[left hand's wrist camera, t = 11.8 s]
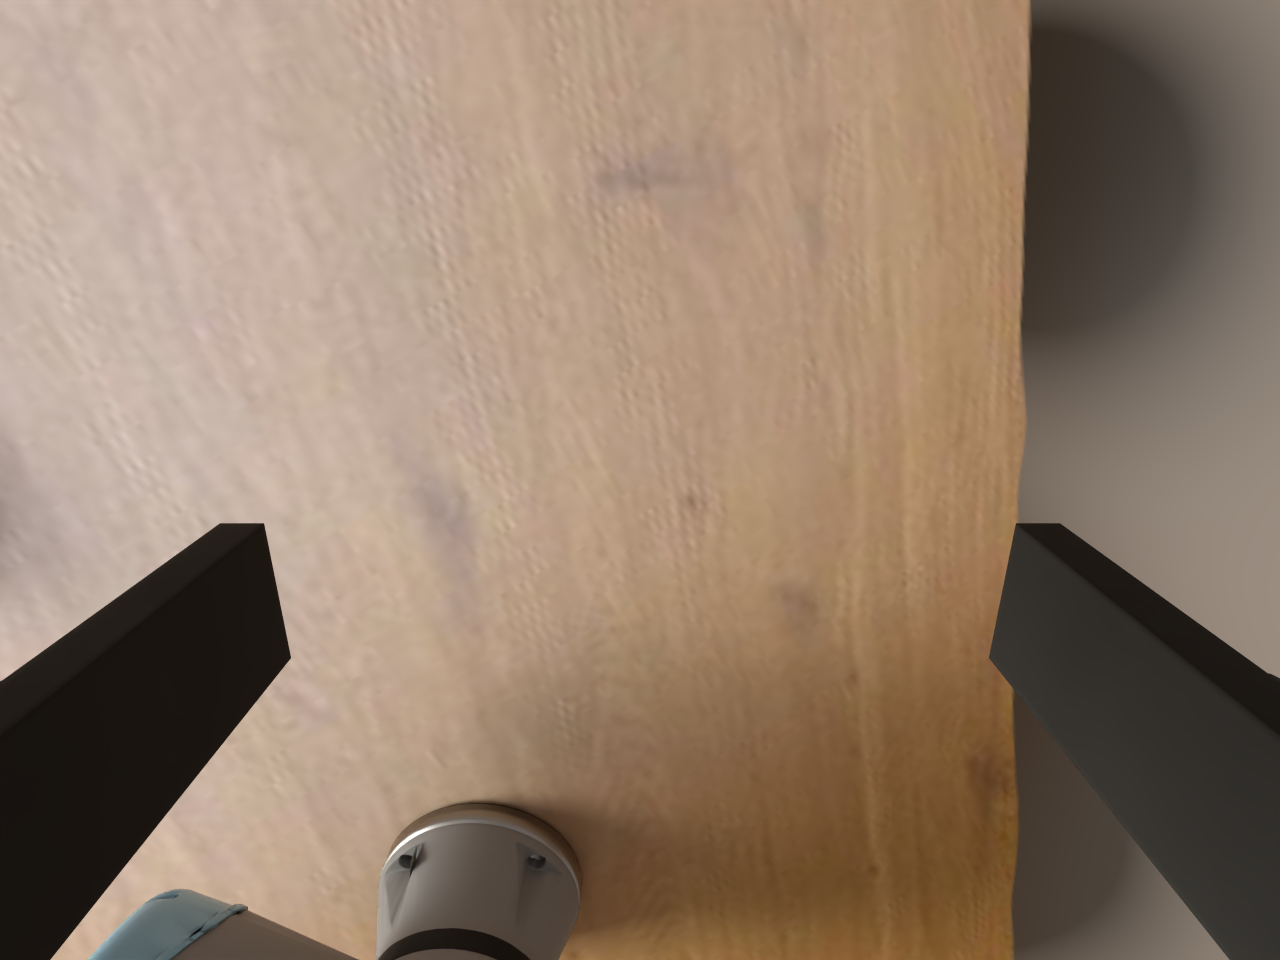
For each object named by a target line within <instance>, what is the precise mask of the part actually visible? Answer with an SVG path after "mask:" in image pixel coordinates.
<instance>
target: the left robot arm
mask: <svg viewBox="0 0 1280 960" xmlns="http://www.w3.org/2000/svg"><path fill="white" fill-rule="evenodd" d="M290 659H291V656H290V651H289V646H288V641H287V636H286V631H285V626H284V621H283V616H282V611H281V606H280V601H279V596H278V591H277V586H276V581H275V576H274V571H273V566H272V561H271V556H270V551H269V546H268V541H267V536H266V531H265V526H264V523H220V524H219V525H217V526H216V527H214V528H213V529H212V530H210V531H209V532H208V533H206V534H205V535H203V536H202V537H201V538H199V539H198V540H196V541H195V542H194V543H192V544H191V545H190V546H188V547H187V548H185V549H184V550H183V551H181V552H180V553H178V554H177V555H176V556H174V557H173V558H171V559H170V560H169V561H167V562H166V563H165V564H163V565H162V566H160V567H159V568H158V569H156V570H155V571H153V572H152V573H151V574H149V575H148V576H147V577H145V578H144V579H142V580H141V581H140V582H138V583H137V584H135V585H134V586H133V587H131V588H130V589H129V590H127V591H126V592H124V593H123V594H122V595H120V596H119V597H117V598H116V599H115V600H113V601H112V602H111V603H109V604H108V605H106V606H105V607H104V608H102V609H101V610H99V611H98V612H97V613H95V614H94V615H93V616H91V617H90V618H88V619H87V620H86V621H84V622H83V623H81V624H80V625H79V626H77V627H76V628H74V629H73V630H72V631H70V632H69V633H68V634H66V635H65V636H63V637H62V638H61V639H59V640H58V641H56V642H55V643H54V644H52V645H51V646H50V647H48V648H47V649H45V650H44V651H43V652H41V653H40V654H38V655H37V656H36V657H34V658H33V659H32V660H30V661H29V662H27V663H26V664H25V665H23V666H22V667H20V668H19V669H18V670H16V671H15V672H14V673H12V674H11V675H9V676H8V677H7V678H5V679H4V680H2V681H0V960H50V959H51V958H52V957H53V956H54V954H55V953H56V952H57V951H58V949H59V948H60V947H61V946H62V944H63V943H64V942H65V941H66V939H67V938H68V937H69V936H70V934H71V933H72V932H73V931H74V929H75V928H76V927H77V926H78V924H79V923H80V922H81V921H82V919H83V918H84V917H85V916H86V914H87V913H88V912H89V910H90V909H91V908H92V907H93V905H94V904H95V903H96V902H97V900H98V899H99V898H100V897H101V895H102V894H103V893H104V892H105V890H106V889H107V888H108V887H109V885H110V884H111V883H112V882H113V880H114V879H115V878H116V877H117V875H118V874H119V873H120V872H121V870H122V869H123V868H124V867H125V865H126V864H127V863H128V862H129V860H130V859H131V858H132V857H133V855H134V854H135V853H136V852H137V850H138V849H139V848H140V847H141V845H142V844H143V843H144V842H145V840H146V839H147V838H148V837H149V835H150V834H151V833H152V832H153V830H154V829H155V828H156V827H157V825H158V824H159V823H160V821H161V820H162V819H163V818H164V816H165V815H166V814H167V813H168V811H169V810H170V809H171V808H172V806H173V805H174V804H175V803H176V801H177V800H178V799H179V798H180V796H181V795H182V794H183V793H184V791H185V790H186V789H187V788H188V786H189V785H190V784H191V783H192V781H193V780H194V779H195V778H196V776H197V775H198V774H199V773H200V771H201V770H202V769H203V768H204V766H205V765H206V764H207V763H208V761H209V760H210V759H211V758H212V756H213V755H214V754H215V753H216V751H217V750H218V749H219V748H220V746H221V745H222V744H223V743H224V741H225V740H226V739H227V737H228V736H229V735H230V734H231V732H232V731H233V730H234V729H235V727H236V726H237V725H238V724H239V722H240V721H241V720H242V719H243V717H244V716H245V715H246V714H247V712H248V711H249V710H250V709H251V707H252V706H253V705H254V704H255V702H256V701H257V700H258V699H259V697H260V696H261V695H262V694H263V692H264V691H265V690H266V689H267V687H268V686H269V685H270V684H271V682H272V681H273V680H274V679H275V677H276V676H277V675H278V674H279V672H280V671H281V670H282V669H283V667H284V666H285V665H286V664H287V662H288V661H289V660H290ZM989 659H990V660H991V661H992V662H993V664H994V665H995V666H996V667H997V669H998V670H999V671H1000V672H1001V674H1002V675H1003V676H1004V677H1005V679H1006V680H1007V681H1008V682H1009V684H1010V685H1011V686H1012V687H1013V689H1014V690H1015V691H1016V692H1017V694H1018V695H1019V696H1020V697H1021V699H1022V700H1023V701H1024V702H1025V704H1026V705H1027V706H1028V707H1029V709H1030V710H1031V711H1032V712H1033V714H1034V715H1035V716H1036V717H1037V719H1038V720H1039V721H1040V722H1041V724H1042V725H1043V726H1044V727H1045V729H1046V730H1047V731H1048V732H1049V734H1050V735H1051V736H1052V737H1053V739H1054V740H1055V741H1056V743H1057V744H1058V745H1059V746H1060V748H1061V749H1062V750H1063V751H1064V753H1065V754H1066V755H1067V756H1068V758H1069V759H1070V760H1071V761H1072V763H1073V764H1074V765H1075V766H1076V768H1077V769H1078V770H1079V771H1080V773H1081V774H1082V775H1083V776H1084V778H1085V779H1086V780H1087V781H1088V783H1089V784H1090V785H1091V786H1092V788H1093V789H1094V790H1095V791H1096V793H1097V794H1098V795H1099V796H1100V798H1101V799H1102V800H1103V801H1104V803H1105V804H1106V805H1107V806H1108V808H1109V809H1110V810H1111V811H1112V813H1113V814H1114V815H1115V816H1116V818H1117V819H1118V820H1119V821H1120V823H1121V824H1122V825H1123V826H1124V828H1125V829H1126V830H1127V832H1128V833H1129V834H1130V835H1131V837H1132V838H1133V839H1134V840H1135V842H1136V843H1137V844H1138V845H1139V847H1140V848H1141V849H1142V850H1143V852H1144V853H1145V854H1146V855H1147V857H1148V858H1149V859H1150V860H1151V862H1152V863H1153V864H1154V865H1155V867H1156V868H1157V869H1158V870H1159V872H1160V873H1161V874H1162V875H1163V877H1164V878H1165V879H1166V880H1167V882H1168V883H1169V884H1170V885H1171V887H1172V888H1173V889H1174V890H1175V892H1176V893H1177V894H1178V895H1179V897H1180V898H1181V899H1182V900H1183V902H1184V903H1185V904H1186V905H1187V907H1188V908H1189V909H1190V910H1191V912H1192V913H1193V914H1194V915H1195V917H1196V918H1197V919H1198V921H1199V922H1200V923H1201V924H1202V926H1203V927H1204V928H1205V929H1206V931H1207V932H1208V933H1209V934H1210V936H1211V937H1212V938H1213V939H1214V941H1215V942H1216V943H1217V944H1218V946H1219V947H1220V948H1221V949H1222V951H1223V952H1224V953H1225V954H1226V956H1227V957H1228V958H1229V959H1230V960H1280V678H1278V677H1276V676H1274V675H1272V674H1268V673H1266V672H1265V671H1264V670H1262V669H1261V668H1260V667H1258V666H1257V665H1255V664H1254V663H1253V662H1251V661H1250V660H1248V659H1247V658H1246V657H1244V656H1243V655H1242V654H1240V653H1239V652H1237V651H1236V650H1235V649H1233V648H1232V647H1230V646H1229V645H1228V644H1226V643H1225V642H1224V641H1222V640H1221V639H1219V638H1218V637H1217V636H1215V635H1214V634H1212V633H1211V632H1210V631H1208V630H1207V629H1206V628H1204V627H1203V626H1201V625H1200V624H1199V623H1197V622H1196V621H1194V620H1193V619H1192V618H1190V617H1189V616H1187V615H1186V614H1185V613H1183V612H1182V611H1181V610H1179V609H1178V608H1176V607H1175V606H1174V605H1172V604H1171V603H1169V602H1168V601H1167V600H1165V599H1164V598H1163V597H1161V596H1160V595H1158V594H1157V593H1155V592H1154V591H1153V590H1151V589H1150V588H1149V587H1147V586H1146V585H1145V584H1143V583H1142V582H1140V581H1139V580H1138V579H1136V578H1135V577H1133V576H1132V575H1131V574H1129V573H1128V572H1126V571H1125V570H1124V569H1122V568H1121V567H1120V566H1118V565H1117V564H1115V563H1114V562H1113V561H1111V560H1110V559H1109V558H1107V557H1106V556H1104V555H1103V554H1102V553H1100V552H1099V551H1097V550H1096V549H1095V548H1093V547H1092V546H1090V545H1089V544H1088V543H1086V542H1085V541H1084V540H1082V539H1081V538H1079V537H1078V536H1077V535H1075V534H1074V533H1072V532H1071V531H1070V530H1068V529H1067V528H1066V527H1064V526H1063V525H1061V524H1059V523H1016V526H1015V531H1014V536H1013V541H1012V546H1011V551H1010V556H1009V561H1008V566H1007V571H1006V576H1005V581H1004V586H1003V591H1002V596H1001V601H1000V606H999V611H998V616H997V621H996V626H995V631H994V636H993V641H992V646H991V651H990V656H989ZM580 896H581V871H580V867H579V864H578V861H577V859H576V857H575V855H574V853H573V851H572V849H571V848H570V846H569V845H568V844H567V843H566V841H565V840H564V839H563V838H562V837H561V836H560V835H559V834H558V833H557V832H556V831H555V830H553V829H552V828H551V827H550V826H548V825H547V824H545V823H544V822H542V821H540V820H538V819H537V818H535V817H533V816H531V815H528V814H526V813H524V812H521V811H518V810H515V809H511V808H508V807H503V806H498V805H490V804H463V805H455V806H450V807H446V808H442V809H439V810H436V811H433V812H431V813H428V814H426V815H424V816H422V817H421V818H419V819H417V820H416V821H414V822H413V823H412V824H410V825H409V826H408V827H407V828H406V829H405V830H403V831H402V832H401V834H400V835H399V836H398V837H397V839H396V840H395V842H394V843H393V845H392V847H391V849H390V852H389V854H388V857H387V859H386V862H385V864H384V867H383V869H382V872H381V875H380V879H379V885H378V914H377V946H376V960H559V958H560V956H561V953H562V951H563V949H564V947H565V945H566V942H567V940H568V938H569V936H570V933H571V931H572V929H573V927H574V925H575V922H576V920H577V917H578V913H579V907H580ZM88 960H358V959H356V958H353V957H351V956H349V955H346V954H344V953H342V952H340V951H337V950H335V949H333V948H331V947H329V946H326V945H324V944H322V943H320V942H317V941H315V940H313V939H311V938H308V937H306V936H304V935H302V934H299V933H297V932H295V931H293V930H290V929H288V928H286V927H284V926H281V925H279V924H277V923H275V922H273V921H270V920H268V919H266V918H264V917H261V916H259V915H257V914H255V913H252V912H250V911H248V907H247V906H245V905H242V904H235V905H230V904H227V903H224V902H222V901H219V900H216V899H213V898H211V897H208V896H205V895H203V894H200V893H197V892H194V891H191V890H186V889H175V890H170V891H167V892H164V893H162V894H159V895H157V896H155V897H154V898H152V899H150V900H149V901H147V902H146V903H145V904H143V905H142V906H141V907H140V908H138V909H137V910H136V911H135V912H134V913H133V914H131V915H130V916H129V917H128V918H127V919H126V920H125V921H124V922H123V923H122V924H121V925H120V926H119V927H118V928H117V929H116V930H115V931H114V932H113V933H112V934H111V935H110V936H109V937H108V938H107V939H106V940H105V941H104V942H103V944H102V945H101V946H100V947H99V948H98V949H97V950H96V951H95V952H94V953H93V954H92V955H91V956H90V958H89V959H88Z"/></svg>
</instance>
